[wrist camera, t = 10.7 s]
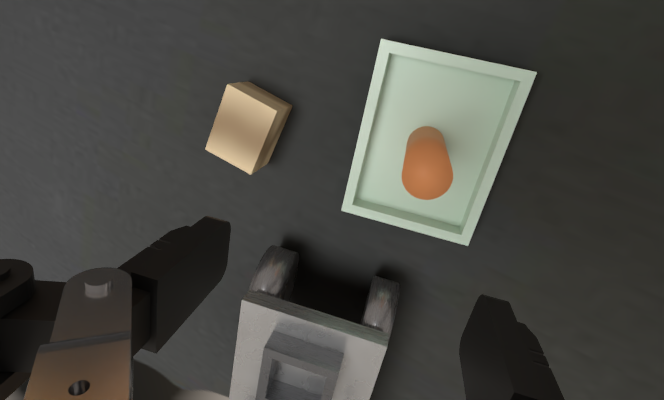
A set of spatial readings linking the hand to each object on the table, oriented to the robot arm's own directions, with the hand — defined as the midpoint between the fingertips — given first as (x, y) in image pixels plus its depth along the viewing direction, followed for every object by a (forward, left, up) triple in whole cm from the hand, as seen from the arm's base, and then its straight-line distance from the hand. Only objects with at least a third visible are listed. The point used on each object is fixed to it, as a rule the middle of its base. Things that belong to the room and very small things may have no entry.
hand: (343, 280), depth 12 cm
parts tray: (-1, +3, -22) cm, 22 cm away
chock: (+1, -12, -22) cm, 25 cm away
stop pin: (-1, +3, -21) cm, 21 cm away
